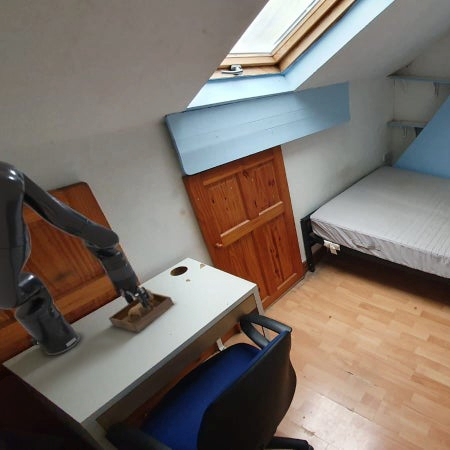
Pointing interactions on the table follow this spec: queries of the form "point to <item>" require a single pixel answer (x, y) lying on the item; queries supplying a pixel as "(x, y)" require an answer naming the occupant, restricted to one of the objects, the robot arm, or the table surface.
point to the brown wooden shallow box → (147, 316)
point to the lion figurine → (140, 308)
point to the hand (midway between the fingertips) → (139, 304)
